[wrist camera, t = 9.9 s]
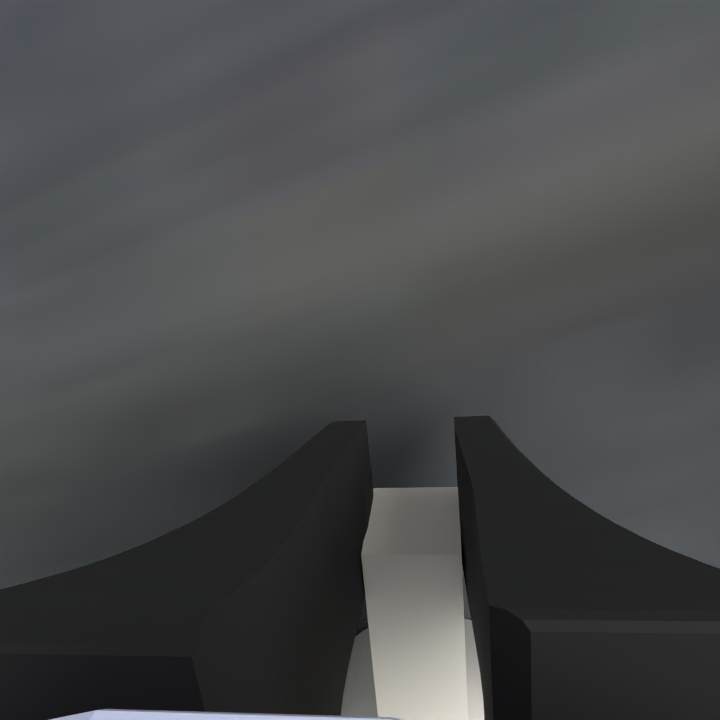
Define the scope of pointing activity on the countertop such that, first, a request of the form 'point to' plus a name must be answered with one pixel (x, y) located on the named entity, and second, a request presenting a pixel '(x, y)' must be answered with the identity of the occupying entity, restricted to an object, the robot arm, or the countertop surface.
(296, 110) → the countertop surface
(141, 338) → the countertop surface
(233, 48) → the countertop surface
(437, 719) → the white piece
